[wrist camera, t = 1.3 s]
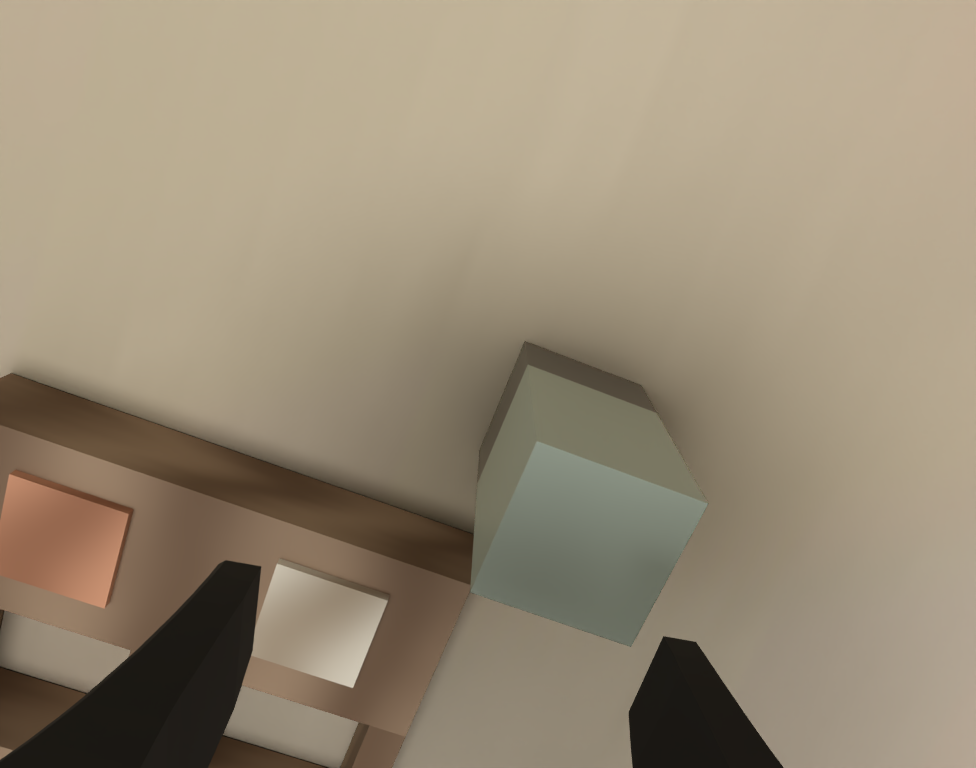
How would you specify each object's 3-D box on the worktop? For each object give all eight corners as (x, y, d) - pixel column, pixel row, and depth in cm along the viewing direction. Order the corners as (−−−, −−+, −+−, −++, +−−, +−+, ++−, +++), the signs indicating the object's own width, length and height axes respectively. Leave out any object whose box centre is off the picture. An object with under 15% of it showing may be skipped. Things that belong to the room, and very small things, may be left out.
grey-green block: (641, 385, 23) (708, 503, 16) (590, 490, 25) (631, 647, 17) (524, 341, 23) (537, 440, 15) (479, 449, 24) (469, 592, 17)
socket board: (475, 535, 25) (472, 591, 22) (351, 821, 29) (334, 902, 26) (10, 373, 24) (-65, 409, 20) (-50, 700, 28) (-120, 771, 25)
